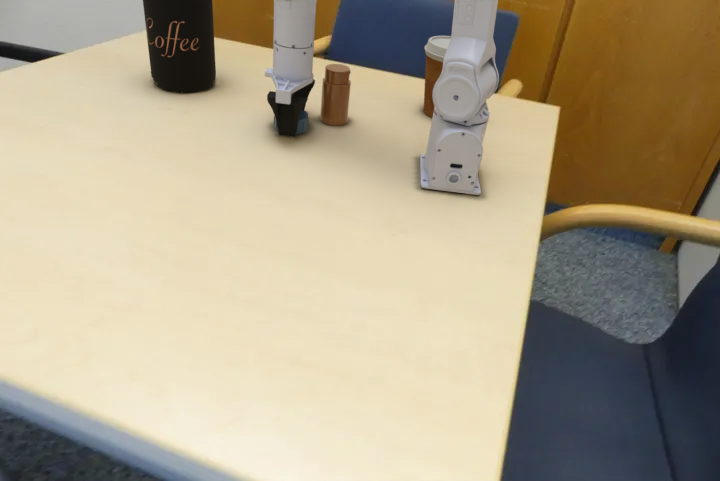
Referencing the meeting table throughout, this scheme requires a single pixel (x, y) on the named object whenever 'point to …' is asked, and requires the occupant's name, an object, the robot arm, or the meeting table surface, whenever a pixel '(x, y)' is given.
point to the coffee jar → (181, 44)
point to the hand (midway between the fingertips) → (290, 131)
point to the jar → (335, 94)
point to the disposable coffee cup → (433, 68)
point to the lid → (301, 124)
